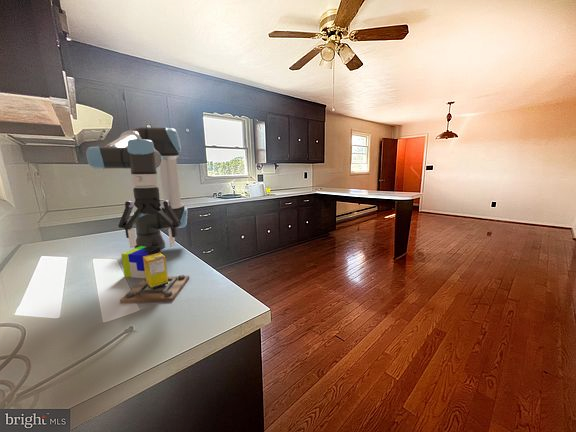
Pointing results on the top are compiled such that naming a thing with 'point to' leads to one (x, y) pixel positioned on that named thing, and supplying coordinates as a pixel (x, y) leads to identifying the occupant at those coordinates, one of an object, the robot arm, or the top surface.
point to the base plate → (155, 291)
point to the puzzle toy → (137, 261)
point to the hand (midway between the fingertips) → (153, 246)
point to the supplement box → (155, 270)
